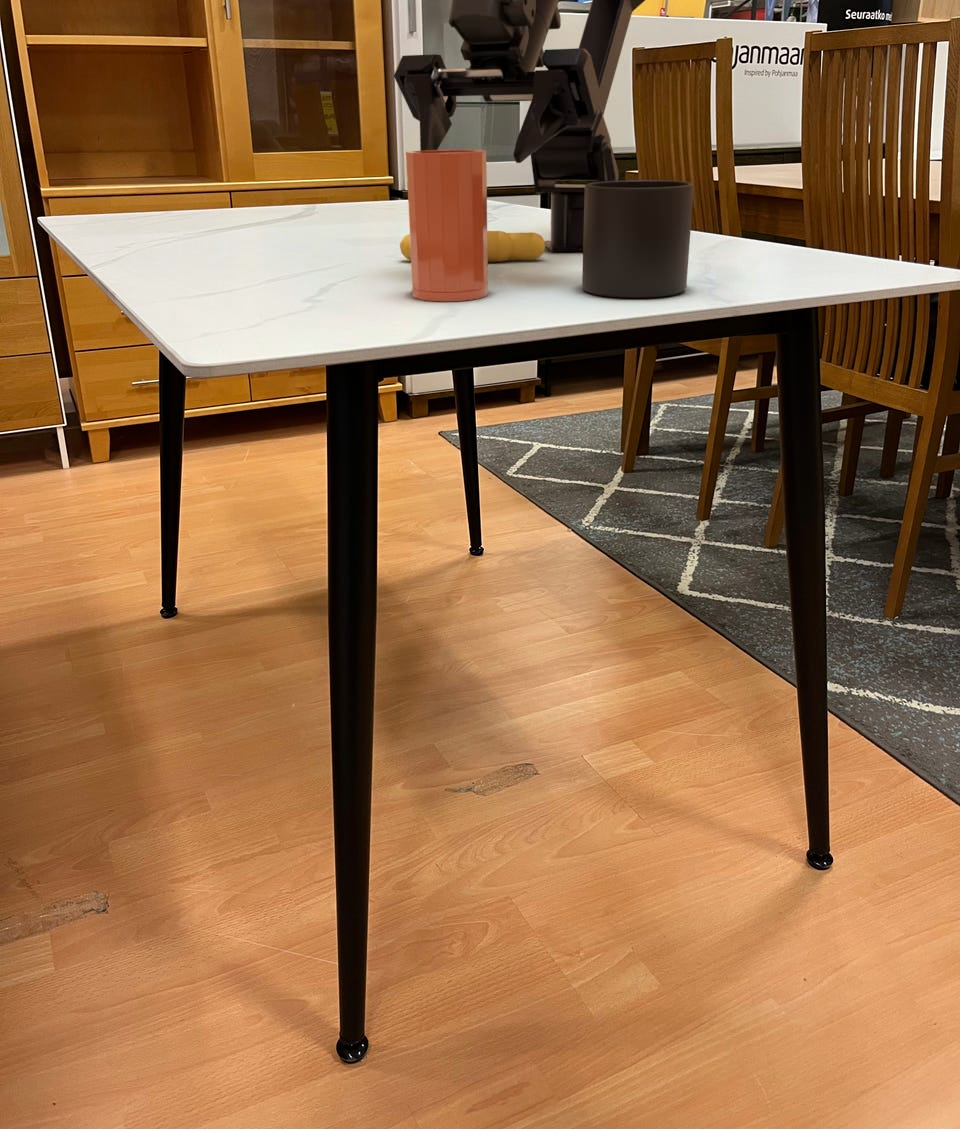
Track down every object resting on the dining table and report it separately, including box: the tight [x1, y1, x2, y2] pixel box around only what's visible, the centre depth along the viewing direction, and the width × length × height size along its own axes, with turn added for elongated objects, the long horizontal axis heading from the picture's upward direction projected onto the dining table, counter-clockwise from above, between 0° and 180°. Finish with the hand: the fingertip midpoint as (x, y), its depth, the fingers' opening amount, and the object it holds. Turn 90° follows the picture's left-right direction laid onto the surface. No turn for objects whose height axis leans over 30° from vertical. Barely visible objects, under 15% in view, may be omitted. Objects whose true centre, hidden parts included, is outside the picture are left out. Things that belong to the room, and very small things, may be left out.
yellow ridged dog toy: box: [399, 230, 546, 263], centre depth 105 cm, size 16×4×3 cm, turn 86°
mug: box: [581, 179, 695, 299], centre depth 87 cm, size 9×12×9 cm
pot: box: [405, 148, 489, 302], centre depth 85 cm, size 7×7×12 cm
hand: (469, 159), depth 86 cm, fingers open, 9 cm apart
